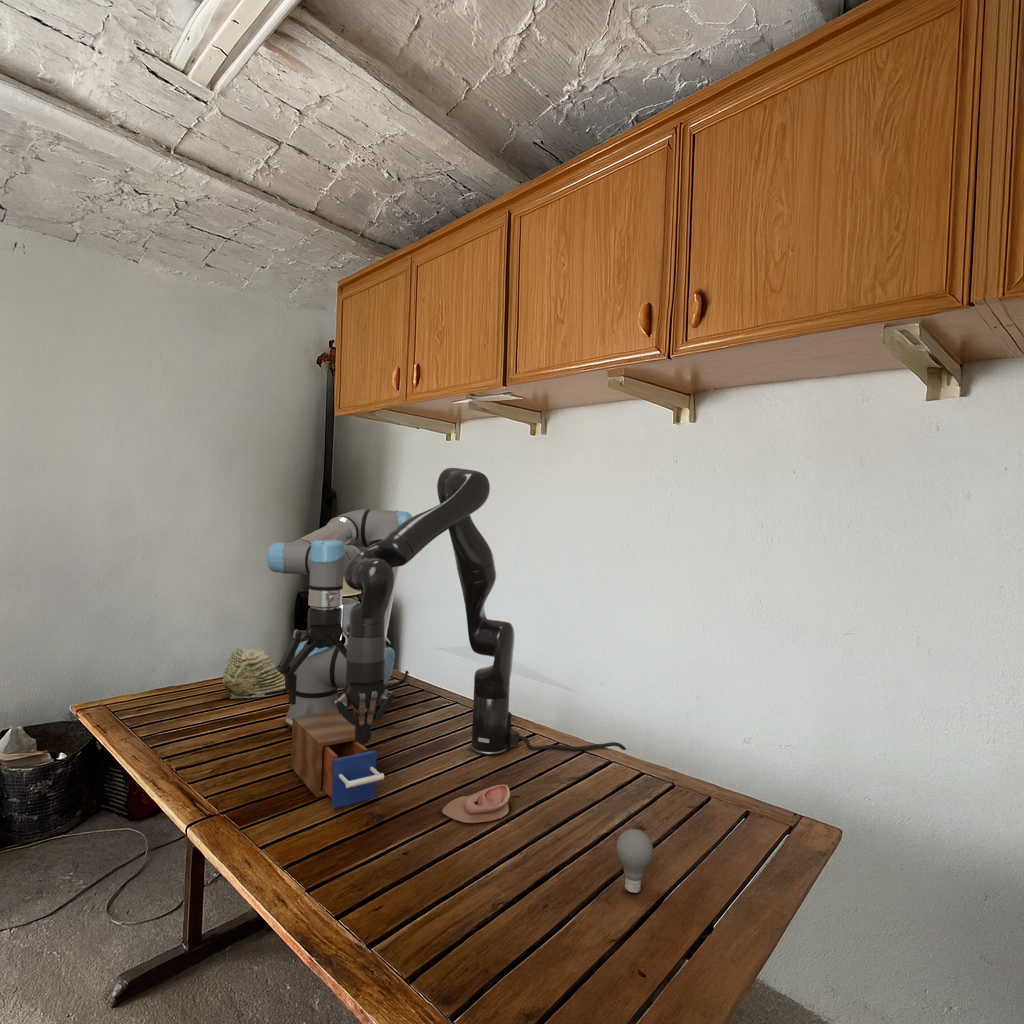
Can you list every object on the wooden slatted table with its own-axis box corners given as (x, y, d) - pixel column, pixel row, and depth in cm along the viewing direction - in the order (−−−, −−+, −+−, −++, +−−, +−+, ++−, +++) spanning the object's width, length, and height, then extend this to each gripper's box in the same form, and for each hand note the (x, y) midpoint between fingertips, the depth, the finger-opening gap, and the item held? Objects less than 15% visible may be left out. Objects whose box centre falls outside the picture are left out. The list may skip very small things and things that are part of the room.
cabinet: (362, 786, 139) (364, 734, 139) (316, 797, 133) (318, 743, 133) (333, 757, 154) (335, 710, 153) (290, 766, 148) (292, 717, 147)
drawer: (386, 808, 128) (388, 761, 128) (343, 820, 123) (345, 770, 123) (345, 768, 146) (347, 727, 146) (306, 777, 140) (308, 734, 140)
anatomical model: (437, 799, 126) (454, 775, 137) (436, 818, 126) (453, 793, 138) (502, 808, 124) (514, 783, 135) (501, 828, 124) (513, 801, 135)
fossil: (218, 695, 195) (220, 647, 195) (278, 685, 208) (279, 640, 207) (228, 703, 189) (230, 653, 188) (289, 692, 201) (290, 645, 201)
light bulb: (610, 879, 108) (613, 822, 108) (644, 879, 109) (647, 822, 109) (619, 902, 102) (622, 840, 102) (655, 901, 103) (658, 840, 103)
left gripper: (274, 613, 136) (270, 711, 136) (382, 606, 150) (378, 694, 151) (264, 607, 142) (261, 701, 142) (369, 601, 157) (366, 686, 157)
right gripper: (341, 664, 120) (337, 755, 120) (404, 657, 128) (401, 742, 128) (327, 656, 126) (323, 742, 126) (388, 649, 134) (385, 730, 134)
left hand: (321, 698), depth 147 cm, fingers open, 13 cm apart
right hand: (362, 742), depth 127 cm, fingers closed
